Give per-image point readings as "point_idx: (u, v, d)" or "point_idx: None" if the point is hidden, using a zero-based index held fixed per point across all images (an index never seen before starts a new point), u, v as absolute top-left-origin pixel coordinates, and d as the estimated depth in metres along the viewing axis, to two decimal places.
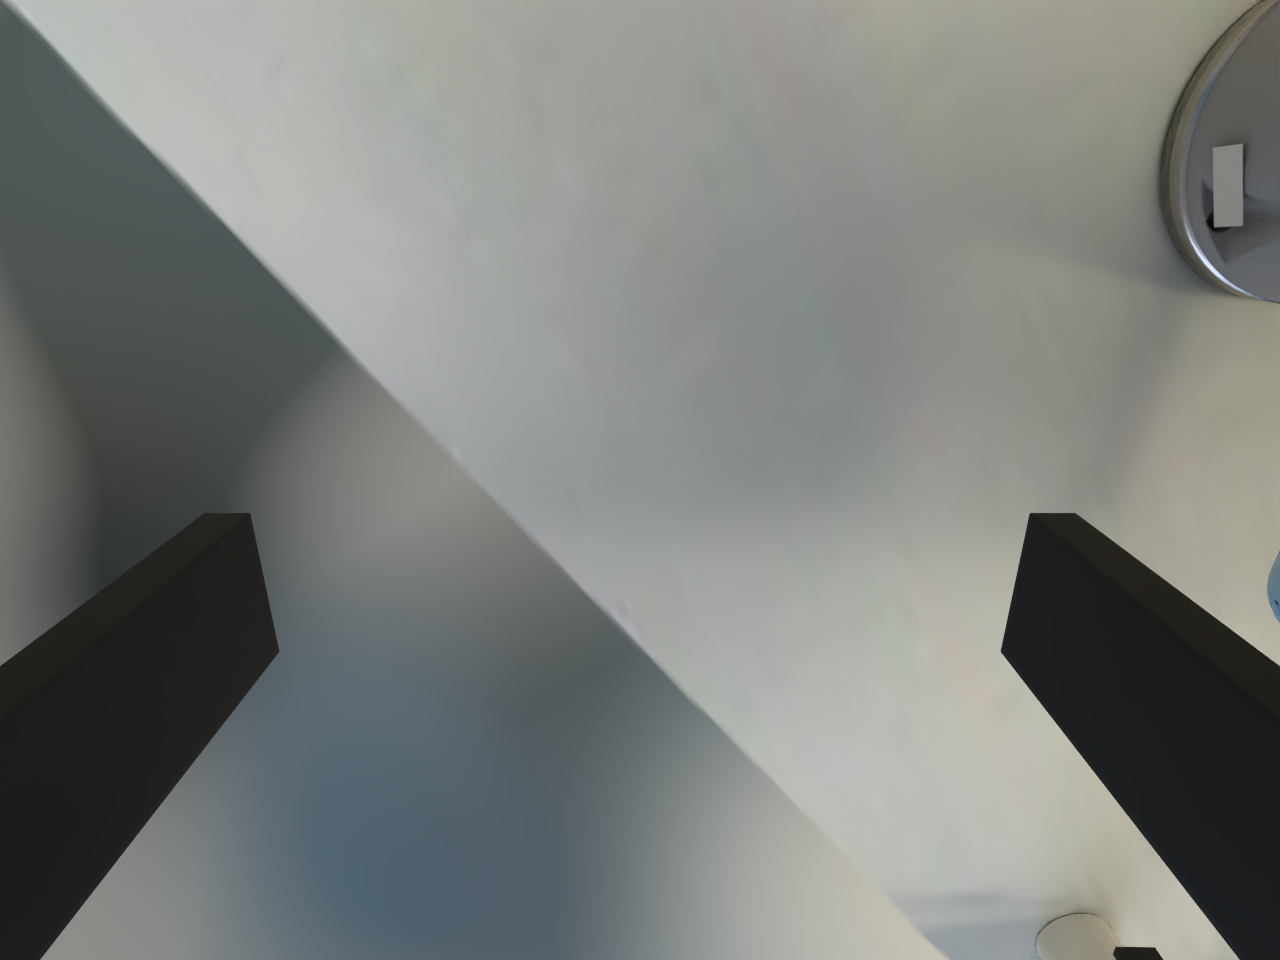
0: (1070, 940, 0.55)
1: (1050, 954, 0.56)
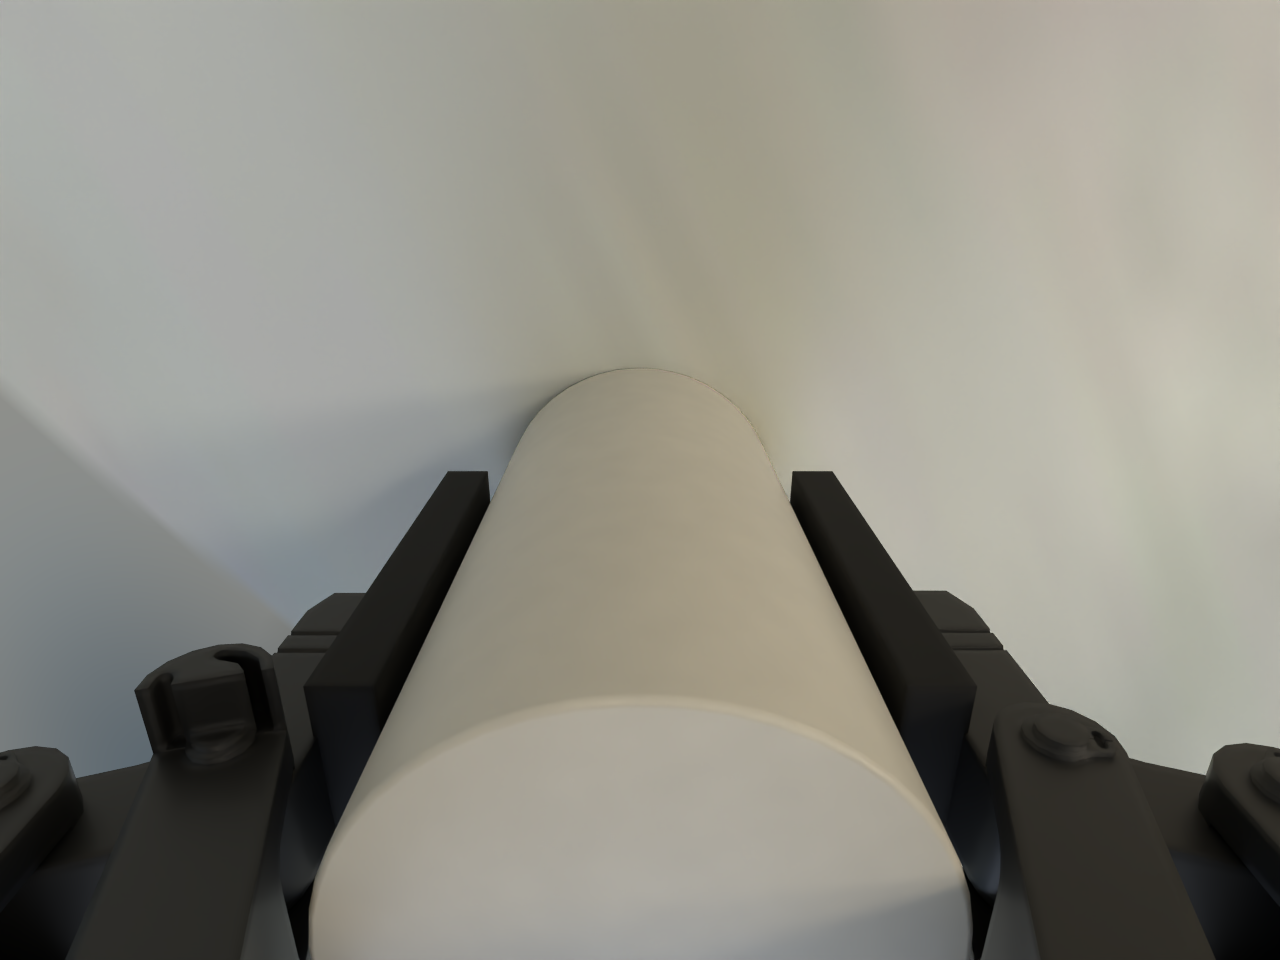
0: (548, 418, 0.14)
1: None
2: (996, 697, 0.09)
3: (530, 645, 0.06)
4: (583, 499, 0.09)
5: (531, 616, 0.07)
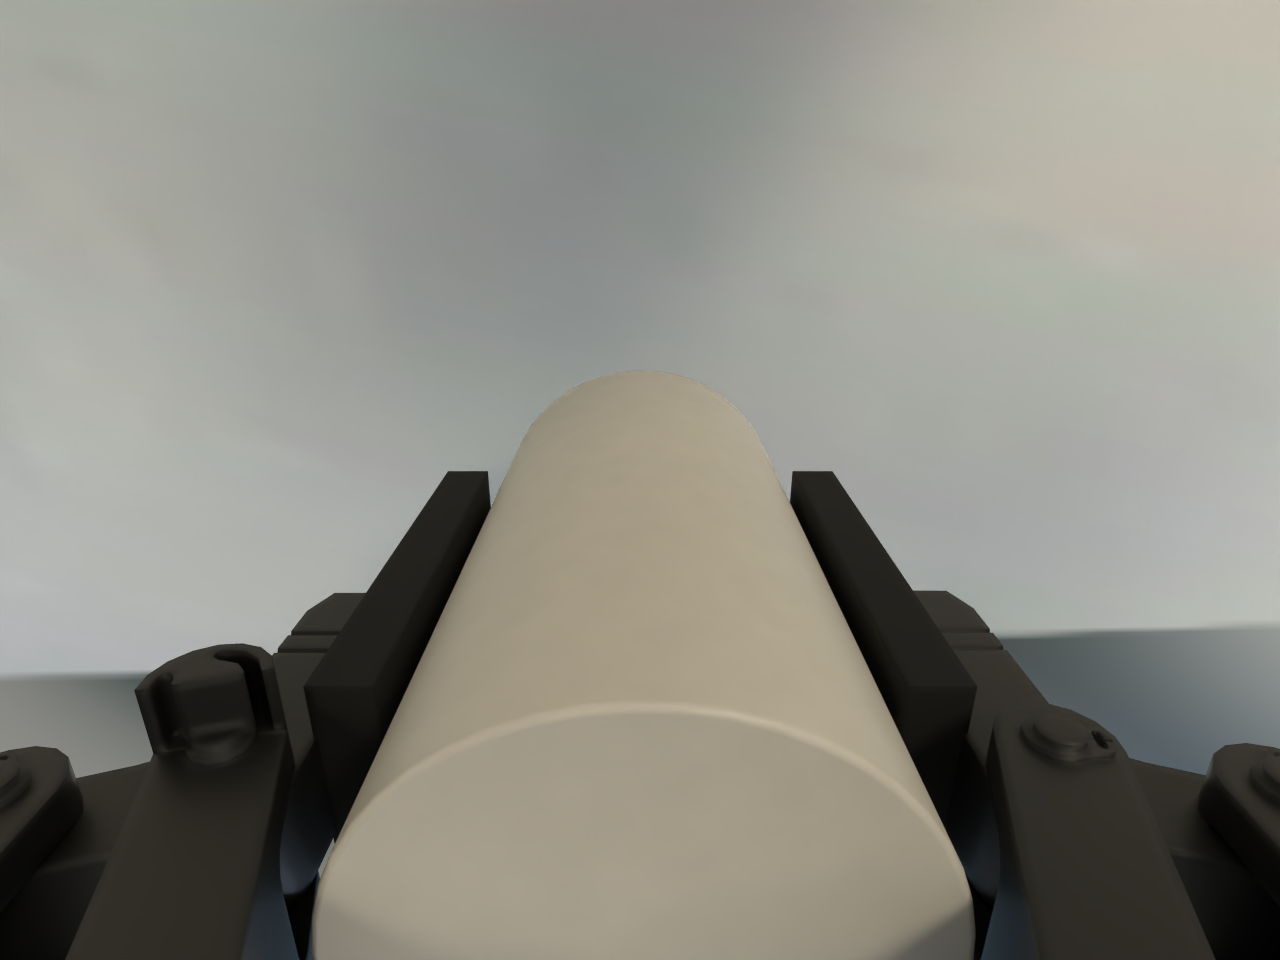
0: (550, 421, 0.14)
1: None
2: (996, 697, 0.09)
3: (533, 652, 0.06)
4: (585, 504, 0.09)
5: (535, 621, 0.07)
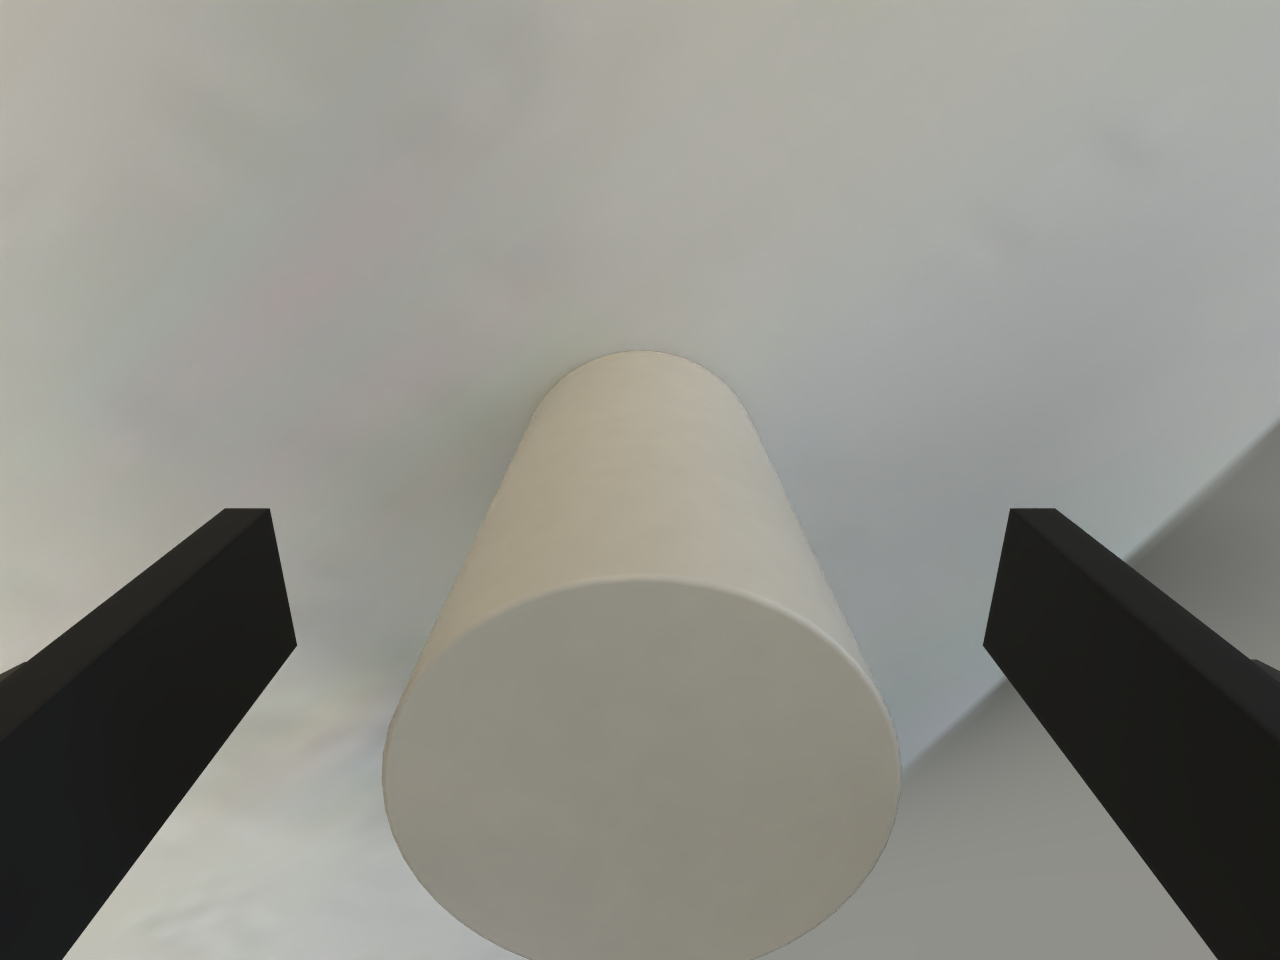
0: (560, 393, 0.16)
1: None
2: None
3: (555, 547, 0.08)
4: (593, 450, 0.11)
5: (555, 529, 0.09)
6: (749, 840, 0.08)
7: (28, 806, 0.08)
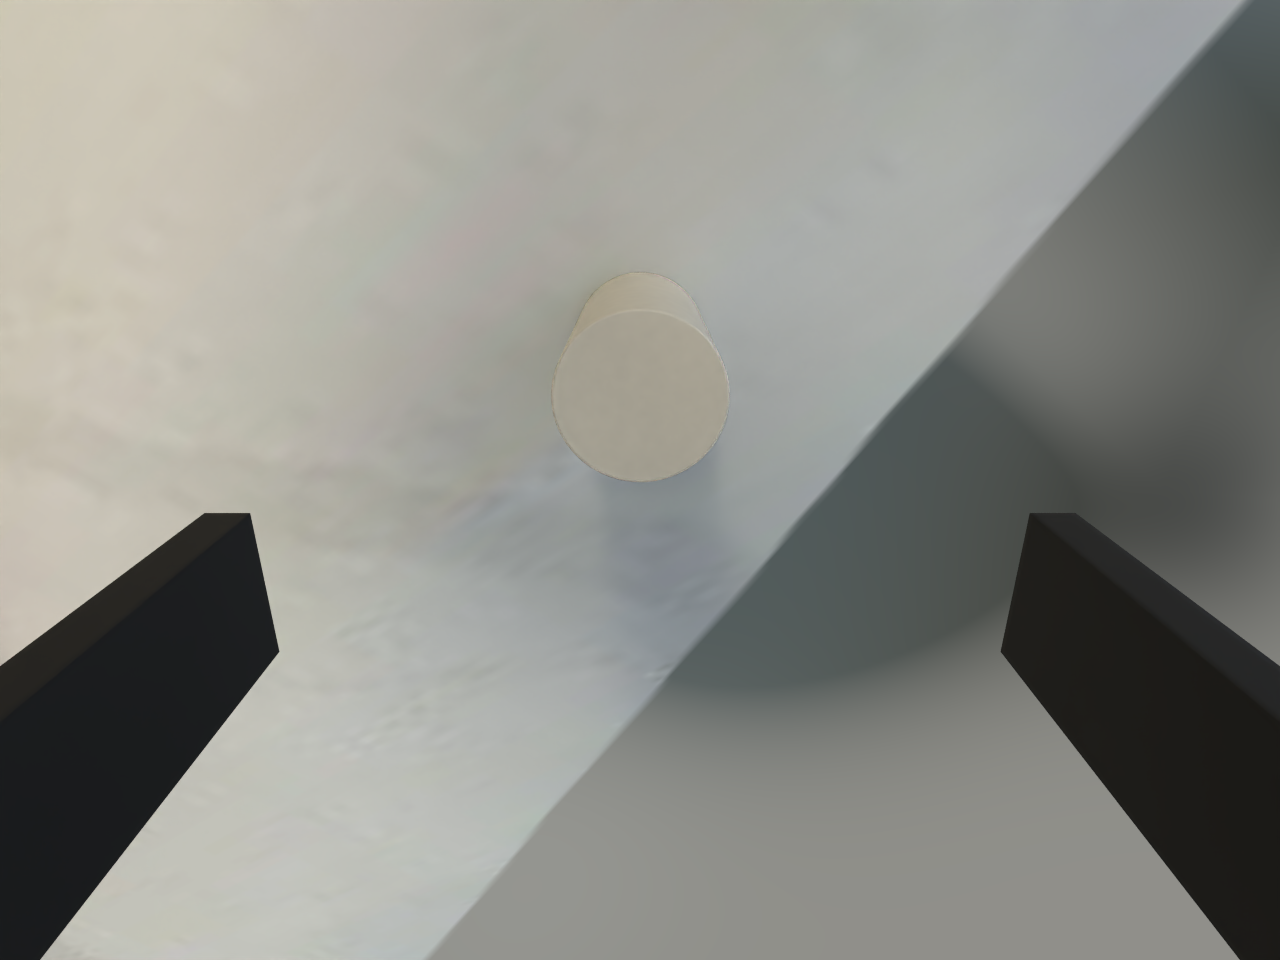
0: (600, 290, 0.31)
1: None
2: None
3: (611, 309, 0.24)
4: (620, 294, 0.27)
5: (610, 307, 0.24)
6: (678, 415, 0.24)
7: None
